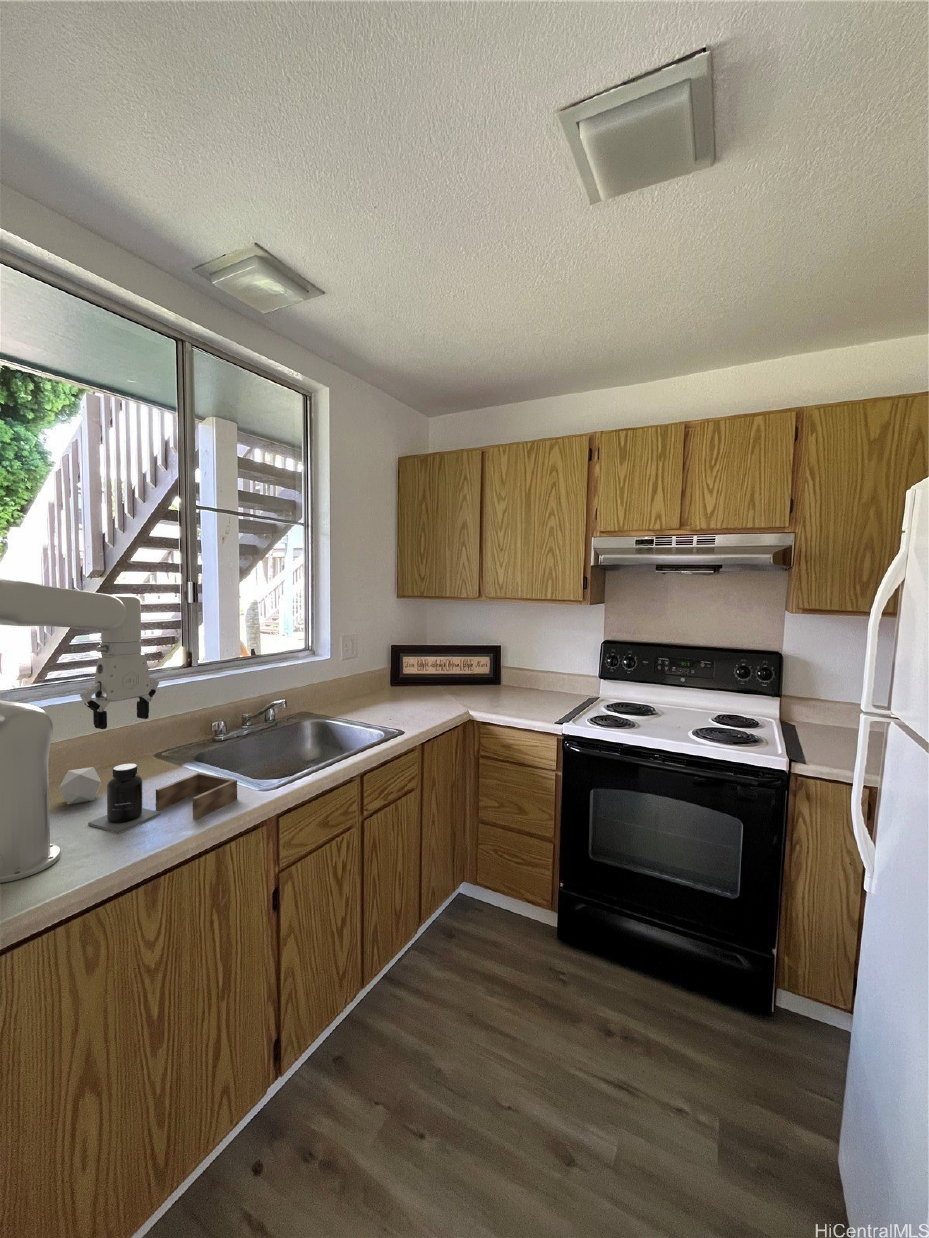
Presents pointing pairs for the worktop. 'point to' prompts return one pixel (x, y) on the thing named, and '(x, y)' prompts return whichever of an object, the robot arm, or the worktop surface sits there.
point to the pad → (122, 827)
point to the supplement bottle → (124, 794)
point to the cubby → (210, 786)
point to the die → (80, 785)
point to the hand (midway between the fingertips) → (122, 723)
